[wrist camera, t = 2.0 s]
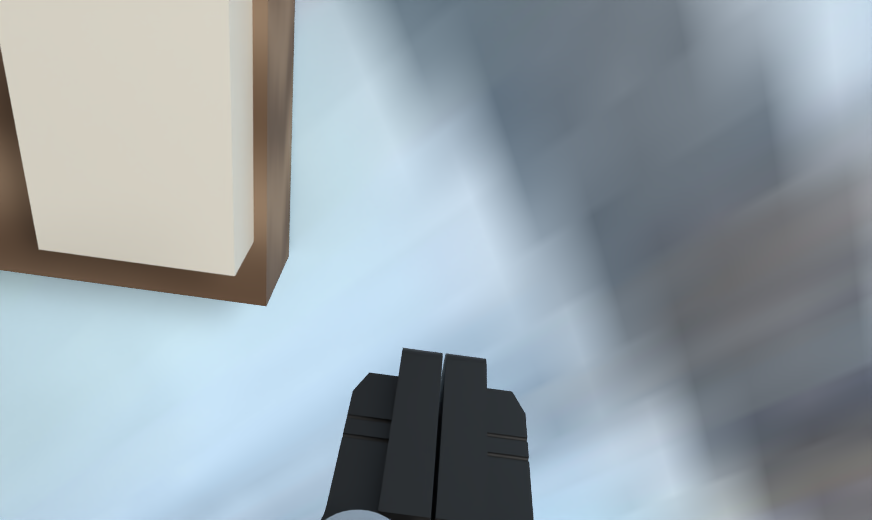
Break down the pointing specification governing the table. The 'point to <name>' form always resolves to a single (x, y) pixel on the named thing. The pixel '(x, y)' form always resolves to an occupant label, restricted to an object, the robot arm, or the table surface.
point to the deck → (272, 133)
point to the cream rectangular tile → (135, 127)
